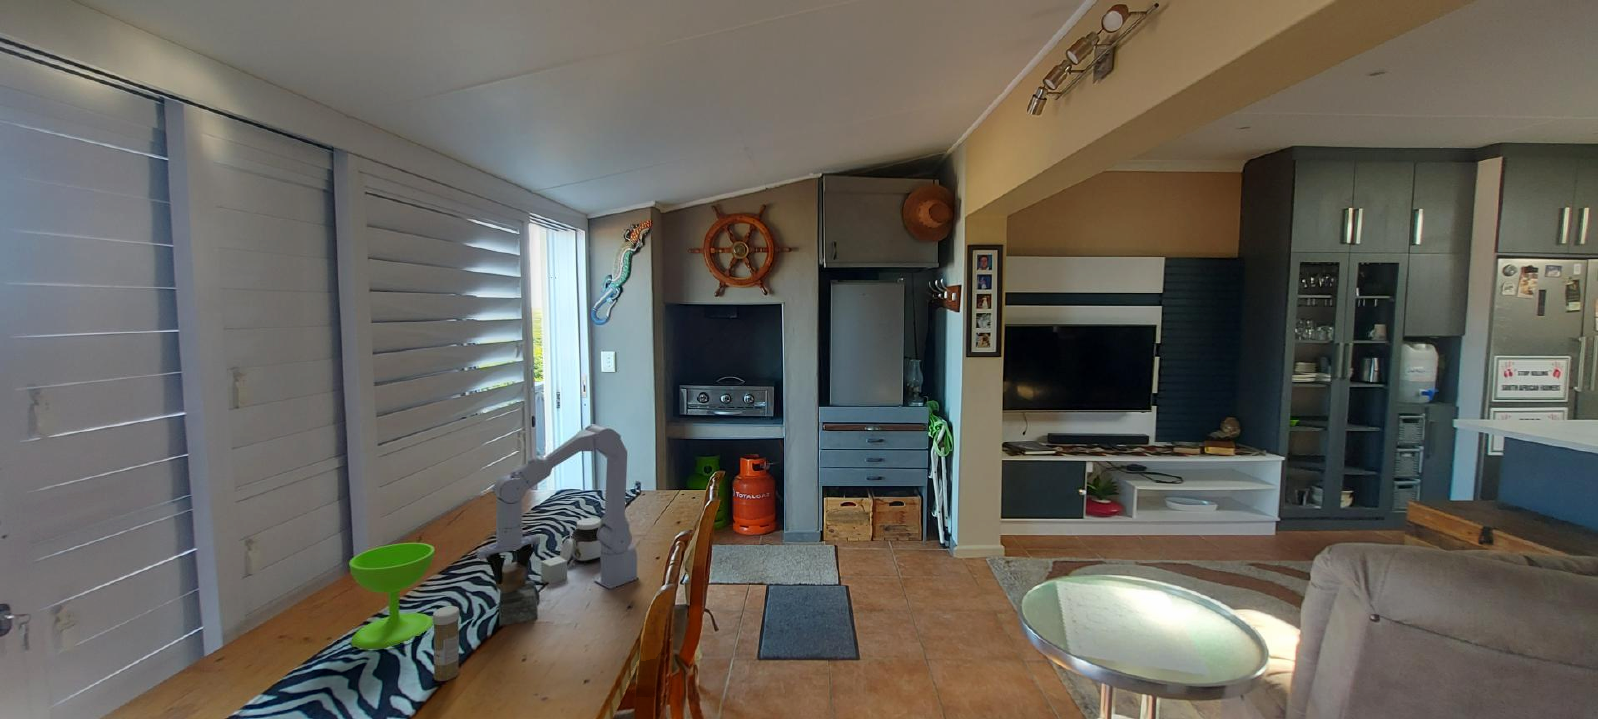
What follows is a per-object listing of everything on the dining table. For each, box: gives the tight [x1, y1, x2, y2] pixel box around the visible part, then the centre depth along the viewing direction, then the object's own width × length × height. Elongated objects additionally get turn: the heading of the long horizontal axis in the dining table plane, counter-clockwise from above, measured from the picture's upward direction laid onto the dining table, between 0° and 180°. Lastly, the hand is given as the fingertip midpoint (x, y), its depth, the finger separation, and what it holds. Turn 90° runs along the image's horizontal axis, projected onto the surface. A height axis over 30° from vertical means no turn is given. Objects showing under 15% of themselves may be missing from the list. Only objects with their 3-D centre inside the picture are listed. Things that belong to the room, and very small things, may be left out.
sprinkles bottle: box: [432, 605, 460, 682], centre depth 119 cm, size 5×5×13 cm
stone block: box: [498, 579, 541, 627], centre depth 148 cm, size 9×14×5 cm, turn 25°
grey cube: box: [540, 556, 568, 584], centre depth 167 cm, size 5×5×5 cm
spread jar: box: [559, 517, 601, 565], centre depth 180 cm, size 12×11×12 cm
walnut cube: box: [495, 561, 527, 594], centre depth 147 cm, size 5×5×5 cm
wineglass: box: [348, 542, 435, 650], centre depth 135 cm, size 16×16×18 cm
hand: (509, 579), depth 147 cm, fingers closed on walnut cube, 5 cm apart
